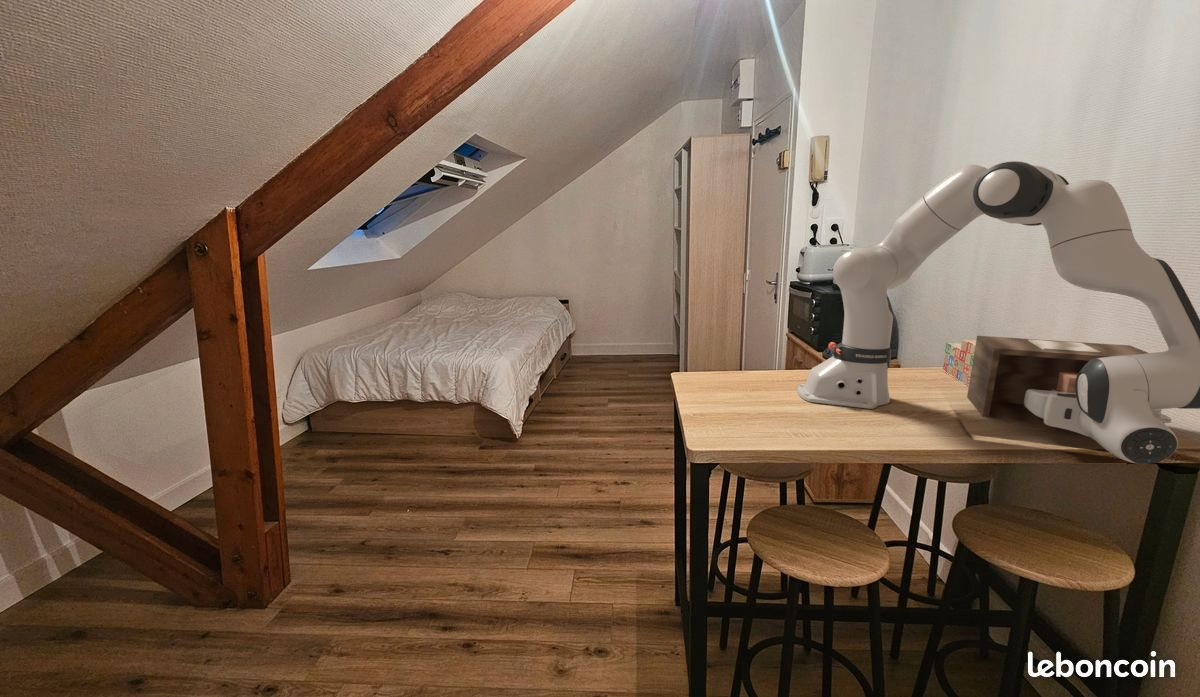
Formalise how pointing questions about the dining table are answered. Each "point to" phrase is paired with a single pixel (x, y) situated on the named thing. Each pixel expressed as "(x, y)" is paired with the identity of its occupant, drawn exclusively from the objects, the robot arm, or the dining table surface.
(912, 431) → the dining table surface
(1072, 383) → the terracotta block
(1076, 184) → the robot arm
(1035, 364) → the cubby
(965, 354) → the stack of blocks
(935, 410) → the dining table surface
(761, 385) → the dining table surface
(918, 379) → the dining table surface
